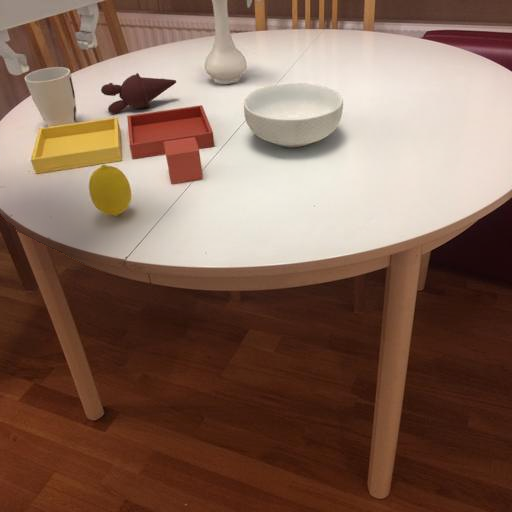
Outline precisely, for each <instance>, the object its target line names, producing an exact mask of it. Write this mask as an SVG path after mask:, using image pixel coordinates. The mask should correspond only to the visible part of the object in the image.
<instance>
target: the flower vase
mask: <svg viewBox="0 0 512 512" xmlns="http://www.w3.org/2000/svg"><path fill="white" fill-rule="evenodd" d="M255 1H256V2H257V3H260V2H261V0H255ZM228 2H229V1H228V0H211V4H212V9H213V20H214V21H213V22H214V42H213V46H212V48H211V50H210V52H209V53H208V54H207V56H206V58H205V61H204V70H205V72H206V73H207V75H208V76H209V77H211V78H212V81H213V83H215V84H217V85H231V84H236V83H238V82H240V81H241V76H242V75H243V74H244V73H245V71H246V69H247V67H248V66H247V63H248V62H247V59H246V57H245V56H244V54H243V53H242V52H241V51H240V50H239V49H238V48H237V47H236V44H235V43H234V40H233V38H232V34H231V27H230V19H229V18H230V17H229V9H228ZM252 2H253V0H246V8H248V9H249V8H250V7H251V5H252Z"/></svg>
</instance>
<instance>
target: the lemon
mask: <svg viewBox="0 0 512 512" xmlns="http://www.w3.org/2000/svg"><path fill="white" fill-rule="evenodd" d="M88 182H89V183H88V191H89V197H90V199H91V201H92V203H93V205H94V207H95V208H96V209H97V210H98V211H99V212H101V213H102V214H105V215H107V216H108V215H109V216H114V217H119V215H120V214H122V213H123V212H125V211H126V210H127V209H128V207H129V206H130V204H131V201H132V189H131V184H130V182H129V180H128V178H127V176H126V175H125V174H124V172H123V171H122V170H121V169H119V168H117V167H116V166H112V165H107V164H101V166H100V167H98V168H96V169H95V170H94V171H93V172H92V173H91V175H90V178H89V181H88Z"/></svg>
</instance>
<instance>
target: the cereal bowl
mask: <svg viewBox="0 0 512 512" xmlns="http://www.w3.org/2000/svg"><path fill="white" fill-rule="evenodd" d="M343 110H344V99H343V96H342V94H340V92H338V91H337V90H335V89H333V88H331V87H328V86H325V85H321V84H315V83H308V82H306V83H305V82H285V83H276V84H271V85H267V86H263V87H260V88H257V89H255V90H253V91H251V92H250V93H249V94H247V95H246V97H245V98H244V102H243V112H244V117H245V122H246V124H247V126H248V128H249V129H250V130H251V132H252V133H253V134H254V135H256V136H257V137H259V139H262V140H263V141H266V142H269V143H272V144H275V145H276V146H279V147H283V148H299V147H304V146H305V147H306V146H307V145H310V144H312V143H316V142H319V141H322V140H323V139H325V138H327V137H329V136H330V135H331V134H332V133H333V132H334V131H335V130H336V129H337V128H338V126H339V124H340V122H341V119H342V116H343Z"/></svg>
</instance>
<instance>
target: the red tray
mask: <svg viewBox="0 0 512 512" xmlns="http://www.w3.org/2000/svg"><path fill="white" fill-rule="evenodd" d="M126 116H127V117H126V118H127V130H128V143H129V144H128V145H129V149H130V154H131V158H132V160H135V159H142V158H143V159H144V158H148V157H156V156H161V155H166V153H165V147H164V142H165V141H171V140H178V139H185V138H191V137H195V139H196V142H197V145H198V148H199V150H201V149H208V148H213V147H216V146H215V139H214V137H215V136H214V132H213V129H212V126H211V124H210V122H209V119H208V116H207V114H206V111H205V109H204V106H203V104H201V105H193V106H187V107H180V108H172V109H166V110H157V111H152V112H151V111H150V112H143V113H137V114H131V115H130V114H129V115H126Z"/></svg>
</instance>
